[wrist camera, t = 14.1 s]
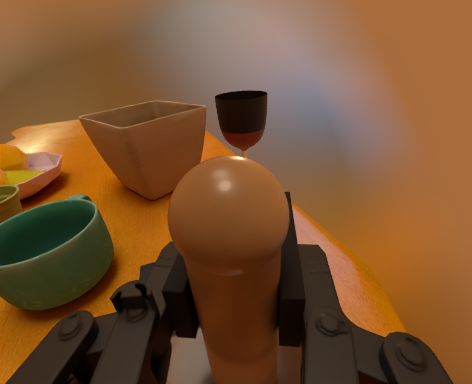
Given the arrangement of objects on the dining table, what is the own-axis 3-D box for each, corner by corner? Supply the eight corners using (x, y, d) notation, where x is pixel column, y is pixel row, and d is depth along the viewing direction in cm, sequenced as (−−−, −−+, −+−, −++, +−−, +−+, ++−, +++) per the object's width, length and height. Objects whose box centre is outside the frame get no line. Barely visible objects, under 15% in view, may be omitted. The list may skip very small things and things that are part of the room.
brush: (299, 325, 18) (323, 113, 10) (361, 439, 13) (511, 172, 5) (157, 375, 16) (49, 153, 8) (158, 540, 10) (-167, 344, 3)
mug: (95, 321, 28) (59, 262, 23) (-12, 329, 28) (-70, 272, 23) (141, 230, 42) (124, 182, 37) (70, 235, 42) (45, 188, 37)
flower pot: (217, 177, 58) (208, 104, 50) (148, 215, 46) (120, 127, 37) (170, 161, 69) (156, 99, 61) (104, 188, 57) (76, 116, 49)
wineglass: (263, 191, 50) (261, 89, 40) (272, 215, 43) (272, 96, 33) (225, 195, 50) (214, 93, 40) (228, 220, 43) (215, 102, 33)
